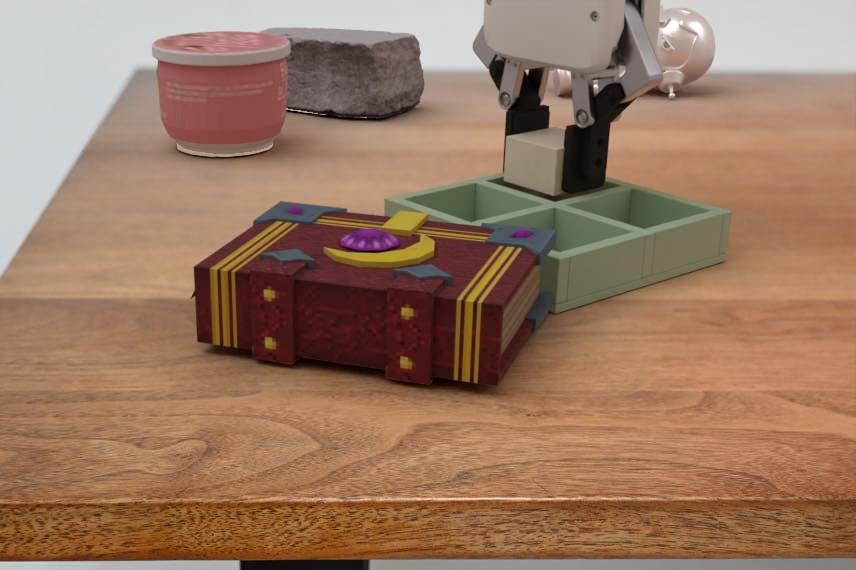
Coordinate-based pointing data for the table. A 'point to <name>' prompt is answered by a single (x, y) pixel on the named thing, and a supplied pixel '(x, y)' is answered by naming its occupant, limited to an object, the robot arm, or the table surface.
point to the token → (536, 160)
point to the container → (222, 89)
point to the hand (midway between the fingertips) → (553, 177)
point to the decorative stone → (352, 71)
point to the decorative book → (376, 292)
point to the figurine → (669, 52)
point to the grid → (588, 232)
